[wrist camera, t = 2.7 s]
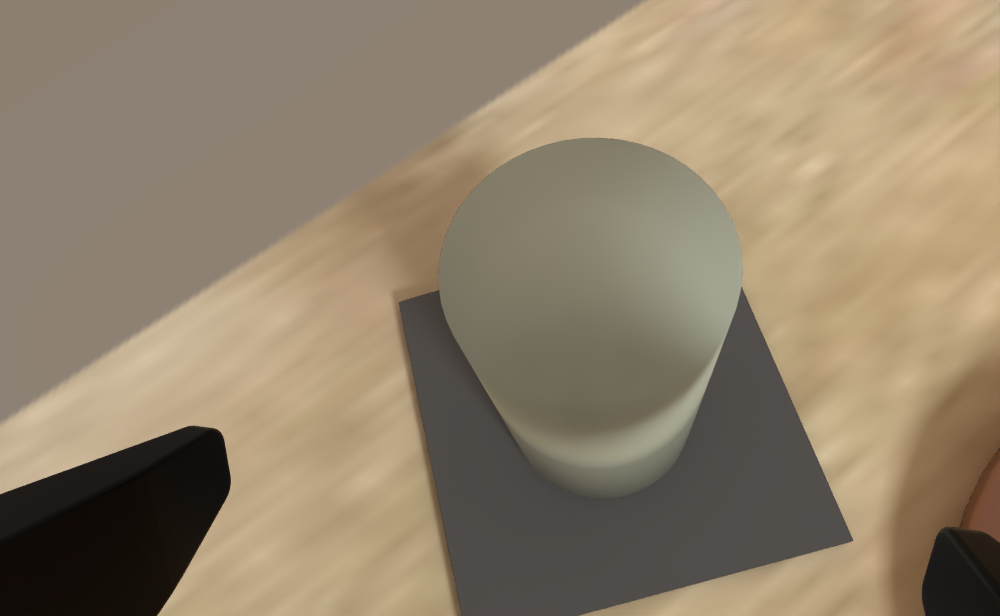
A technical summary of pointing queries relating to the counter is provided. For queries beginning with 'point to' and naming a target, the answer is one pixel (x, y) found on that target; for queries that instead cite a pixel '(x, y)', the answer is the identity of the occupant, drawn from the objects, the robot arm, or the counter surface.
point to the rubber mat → (623, 520)
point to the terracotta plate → (985, 502)
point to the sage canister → (593, 306)
